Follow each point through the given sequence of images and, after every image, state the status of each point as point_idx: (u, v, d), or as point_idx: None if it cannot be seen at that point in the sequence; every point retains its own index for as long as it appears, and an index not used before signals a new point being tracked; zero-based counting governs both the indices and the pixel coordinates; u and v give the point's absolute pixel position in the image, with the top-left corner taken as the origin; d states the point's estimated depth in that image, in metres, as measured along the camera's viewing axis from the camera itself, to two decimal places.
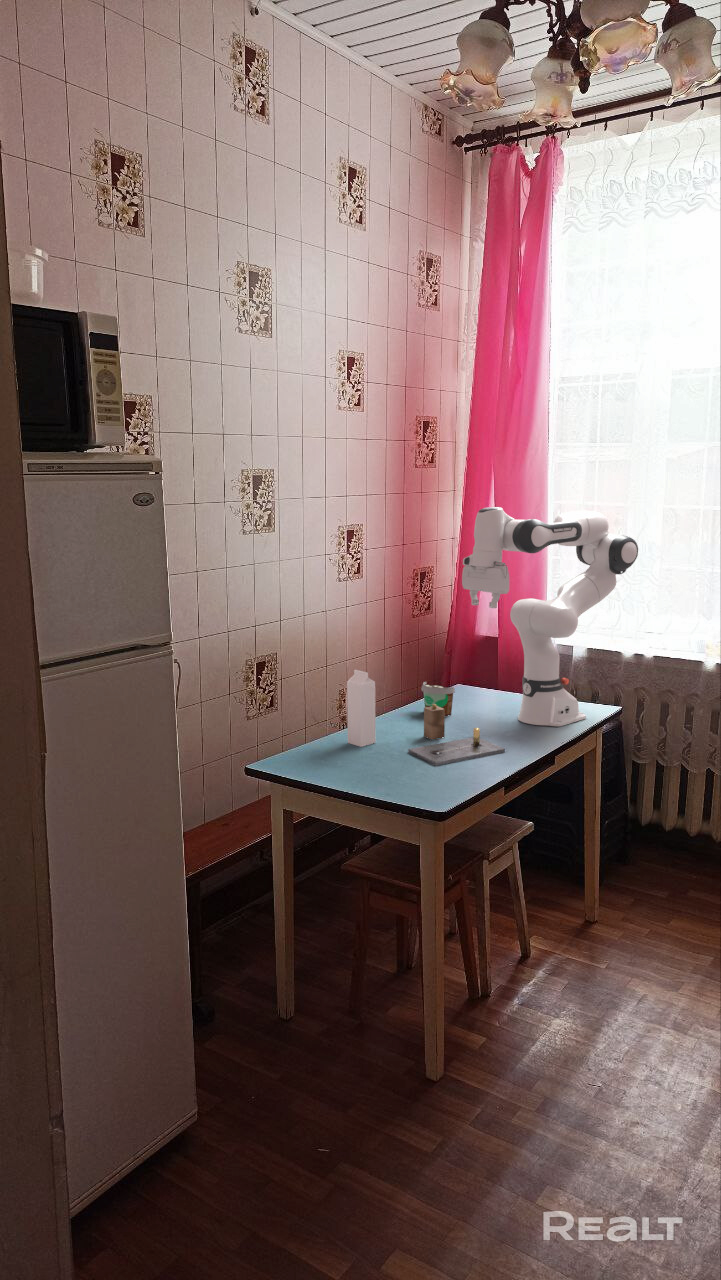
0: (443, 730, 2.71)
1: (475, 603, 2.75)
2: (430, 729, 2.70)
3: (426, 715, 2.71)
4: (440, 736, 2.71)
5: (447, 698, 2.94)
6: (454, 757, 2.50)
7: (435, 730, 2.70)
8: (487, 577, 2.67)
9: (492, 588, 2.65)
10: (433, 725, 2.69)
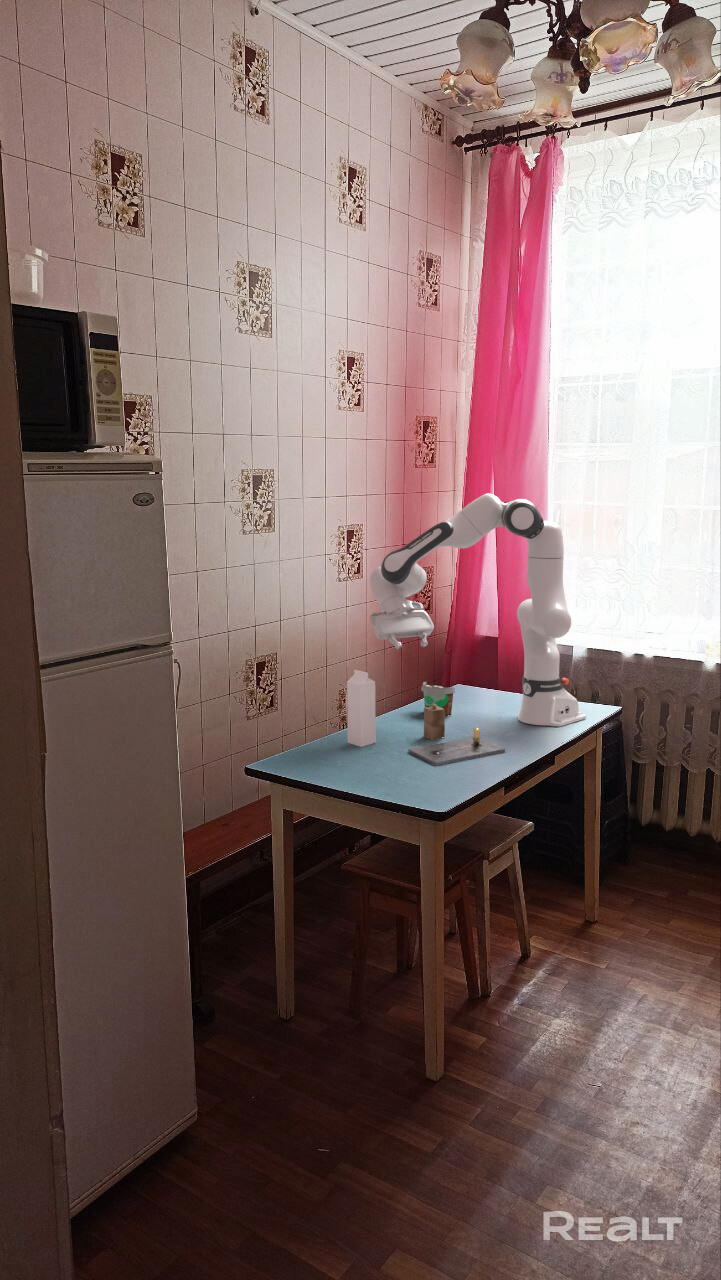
0: (443, 730, 2.71)
1: (422, 644, 2.81)
2: (430, 729, 2.70)
3: (426, 715, 2.71)
4: (440, 736, 2.71)
5: (447, 698, 2.94)
6: (454, 757, 2.50)
7: (435, 730, 2.70)
8: None
9: None
10: (433, 725, 2.69)
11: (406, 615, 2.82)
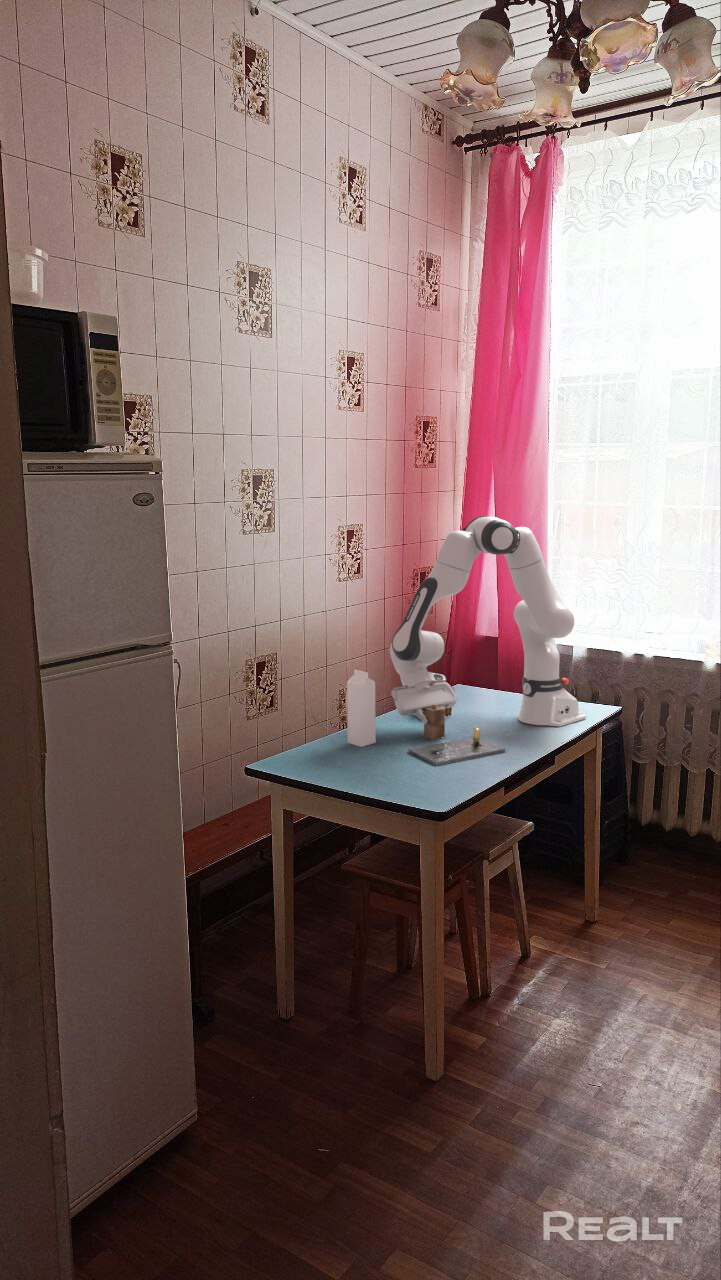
0: (443, 730, 2.71)
1: None
2: (430, 729, 2.70)
3: (426, 715, 2.71)
4: (440, 736, 2.71)
5: None
6: (454, 757, 2.50)
7: (435, 730, 2.70)
8: None
9: None
10: (433, 725, 2.69)
11: (428, 688, 2.75)
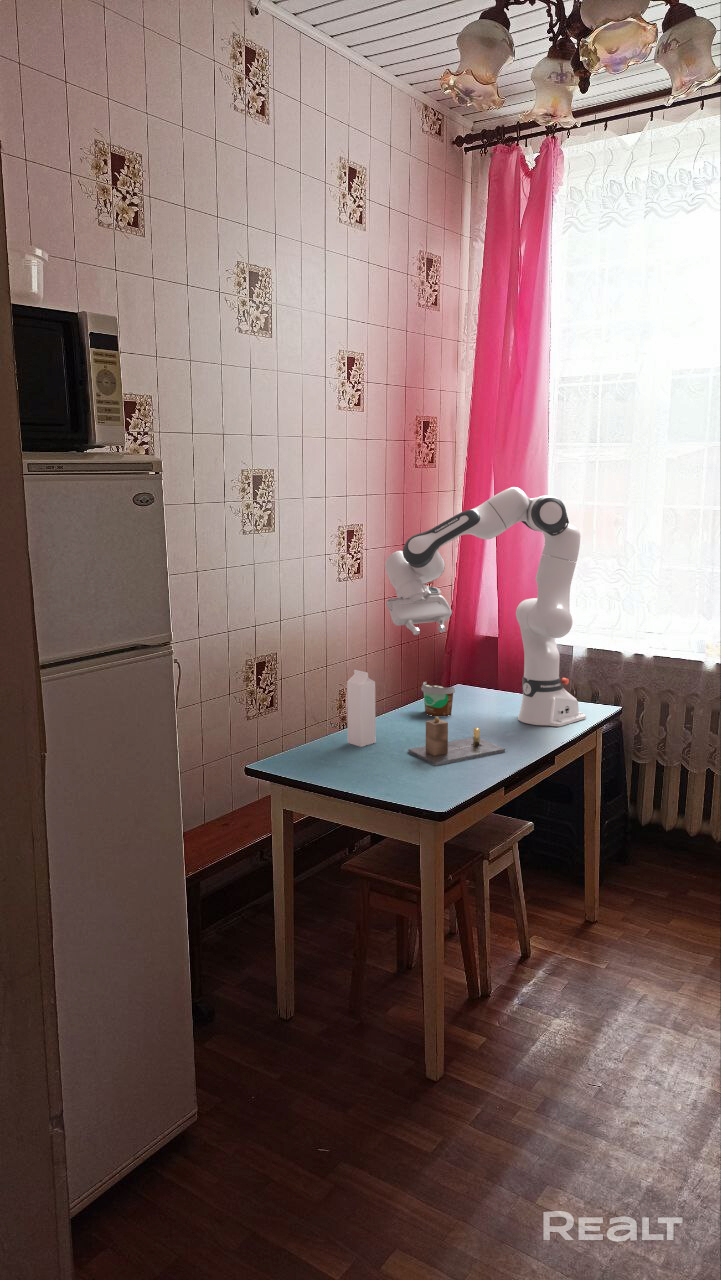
0: (446, 745, 2.53)
1: (440, 630, 2.75)
2: (433, 744, 2.51)
3: (428, 729, 2.53)
4: (443, 752, 2.53)
5: (447, 698, 2.94)
6: (454, 757, 2.50)
7: (437, 745, 2.51)
8: None
9: None
10: (435, 740, 2.51)
11: (423, 600, 2.77)
